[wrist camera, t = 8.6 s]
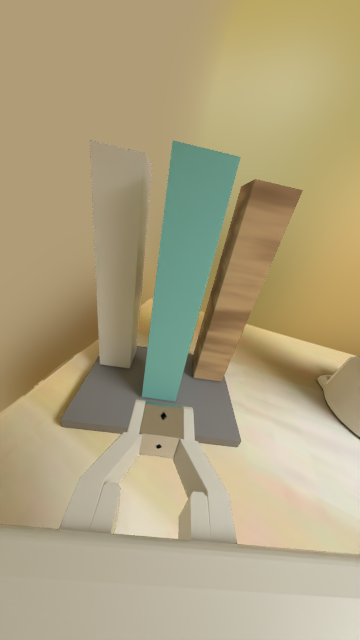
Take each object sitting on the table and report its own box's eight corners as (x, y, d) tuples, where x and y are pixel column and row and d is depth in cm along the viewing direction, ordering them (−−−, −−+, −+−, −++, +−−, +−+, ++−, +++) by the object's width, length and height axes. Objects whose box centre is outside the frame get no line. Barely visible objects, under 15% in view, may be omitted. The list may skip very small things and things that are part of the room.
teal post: (175, 401, 27) (240, 157, 13) (141, 396, 26) (172, 140, 13) (176, 375, 31) (226, 171, 18) (147, 371, 31) (175, 159, 17)
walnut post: (221, 381, 32) (302, 190, 18) (193, 377, 32) (255, 179, 18) (216, 362, 36) (279, 195, 23) (192, 358, 36) (241, 186, 22)
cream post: (129, 368, 31) (144, 152, 17) (99, 364, 30) (89, 139, 17) (136, 349, 35) (152, 165, 21) (110, 345, 35) (109, 156, 21)
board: (237, 447, 25) (241, 441, 24) (62, 426, 23) (60, 419, 22) (217, 364, 39) (219, 358, 38) (107, 347, 37) (107, 341, 36)
